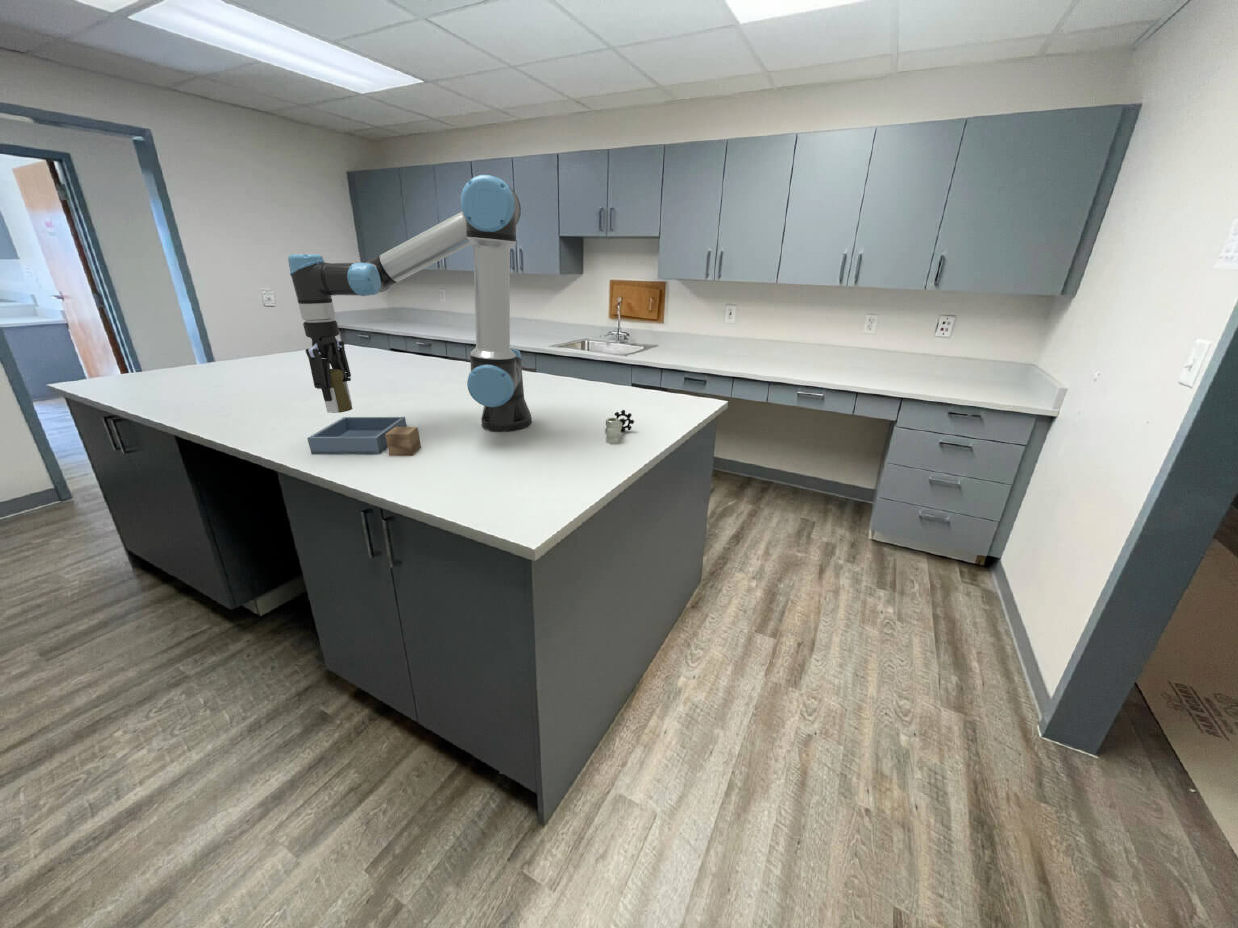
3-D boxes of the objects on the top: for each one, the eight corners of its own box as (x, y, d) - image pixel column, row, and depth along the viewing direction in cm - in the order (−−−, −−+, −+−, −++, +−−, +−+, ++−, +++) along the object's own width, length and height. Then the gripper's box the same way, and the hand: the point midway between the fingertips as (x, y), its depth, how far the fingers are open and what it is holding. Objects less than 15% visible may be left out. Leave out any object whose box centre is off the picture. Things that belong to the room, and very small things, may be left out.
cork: (341, 413, 129) (332, 372, 124) (322, 412, 130) (312, 371, 126) (357, 407, 134) (348, 367, 130) (338, 406, 135) (329, 366, 131)
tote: (407, 431, 144) (405, 417, 142) (379, 454, 127) (376, 438, 126) (347, 431, 144) (343, 417, 142) (311, 454, 127) (307, 438, 126)
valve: (621, 446, 133) (634, 432, 143) (621, 423, 130) (634, 410, 141) (599, 443, 135) (613, 430, 145) (598, 420, 132) (612, 408, 143)
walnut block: (421, 447, 132) (417, 426, 130) (412, 456, 126) (408, 434, 124) (399, 447, 132) (395, 426, 130) (389, 456, 126) (385, 434, 124)
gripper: (326, 316, 132) (344, 399, 141) (280, 325, 114) (305, 419, 123) (353, 316, 132) (370, 399, 141) (312, 325, 114) (334, 419, 123)
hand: (340, 408), depth 132 cm, fingers closed on cork, 6 cm apart
